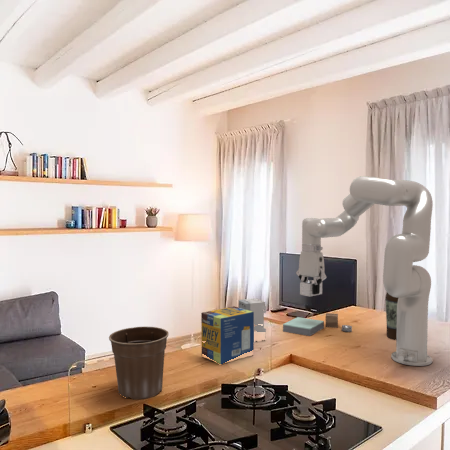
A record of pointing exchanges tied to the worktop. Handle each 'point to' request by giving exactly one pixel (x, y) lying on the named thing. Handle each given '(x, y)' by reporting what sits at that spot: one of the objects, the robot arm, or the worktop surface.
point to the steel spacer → (346, 328)
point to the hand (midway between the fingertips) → (310, 292)
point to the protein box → (227, 333)
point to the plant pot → (139, 360)
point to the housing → (308, 288)
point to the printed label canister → (391, 316)
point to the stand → (303, 326)
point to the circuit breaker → (255, 311)
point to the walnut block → (331, 320)
